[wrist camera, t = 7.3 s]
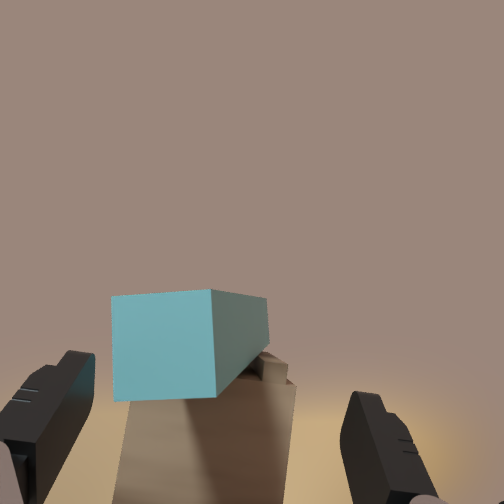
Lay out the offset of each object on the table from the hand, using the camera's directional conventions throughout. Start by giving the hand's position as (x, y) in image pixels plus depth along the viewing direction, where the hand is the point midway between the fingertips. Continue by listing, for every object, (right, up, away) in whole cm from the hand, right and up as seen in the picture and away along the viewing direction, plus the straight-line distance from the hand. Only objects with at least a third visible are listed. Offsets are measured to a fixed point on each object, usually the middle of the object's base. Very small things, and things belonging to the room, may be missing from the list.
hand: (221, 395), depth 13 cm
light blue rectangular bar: (-1, -2, +11) cm, 11 cm away
